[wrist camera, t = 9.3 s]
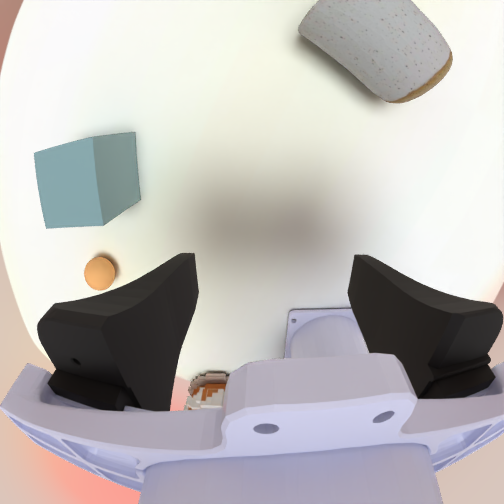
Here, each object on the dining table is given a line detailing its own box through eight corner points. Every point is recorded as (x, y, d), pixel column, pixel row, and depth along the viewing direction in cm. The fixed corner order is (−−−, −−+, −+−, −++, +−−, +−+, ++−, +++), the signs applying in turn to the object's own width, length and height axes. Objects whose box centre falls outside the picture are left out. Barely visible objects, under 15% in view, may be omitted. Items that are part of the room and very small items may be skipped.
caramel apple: (183, 369, 29) (154, 485, 15) (250, 369, 28) (244, 496, 15) (199, 404, 32) (182, 502, 18) (257, 404, 31) (254, 508, 18)
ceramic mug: (375, 113, 17) (432, 110, 10) (288, 44, 15) (306, -2, 8) (434, 41, 13) (489, 23, 6) (361, -23, 11) (396, -65, 4)
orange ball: (123, 280, 24) (109, 298, 21) (98, 278, 24) (83, 295, 21) (116, 251, 22) (101, 267, 20) (91, 251, 22) (74, 266, 20)
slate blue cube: (140, 199, 20) (103, 225, 15) (87, 203, 20) (46, 228, 15) (135, 132, 18) (92, 136, 13) (80, 142, 18) (33, 152, 13)
